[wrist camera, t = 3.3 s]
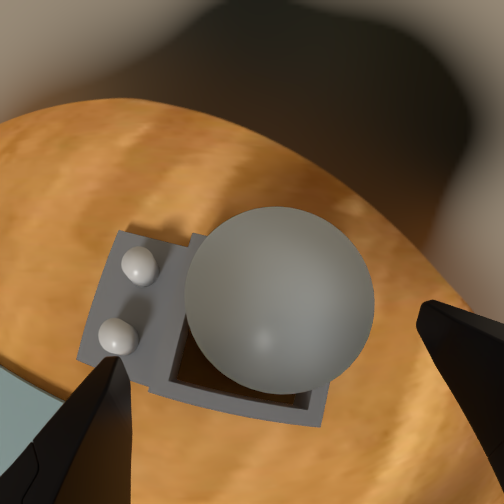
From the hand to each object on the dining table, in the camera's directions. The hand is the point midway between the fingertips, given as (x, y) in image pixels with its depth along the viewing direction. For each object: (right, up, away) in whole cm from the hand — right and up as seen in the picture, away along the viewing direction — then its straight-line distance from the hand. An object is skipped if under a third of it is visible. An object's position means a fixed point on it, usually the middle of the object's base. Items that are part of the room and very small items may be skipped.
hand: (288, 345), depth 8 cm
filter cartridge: (-1, -2, +9) cm, 9 cm away
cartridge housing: (-4, -2, +9) cm, 10 cm away
